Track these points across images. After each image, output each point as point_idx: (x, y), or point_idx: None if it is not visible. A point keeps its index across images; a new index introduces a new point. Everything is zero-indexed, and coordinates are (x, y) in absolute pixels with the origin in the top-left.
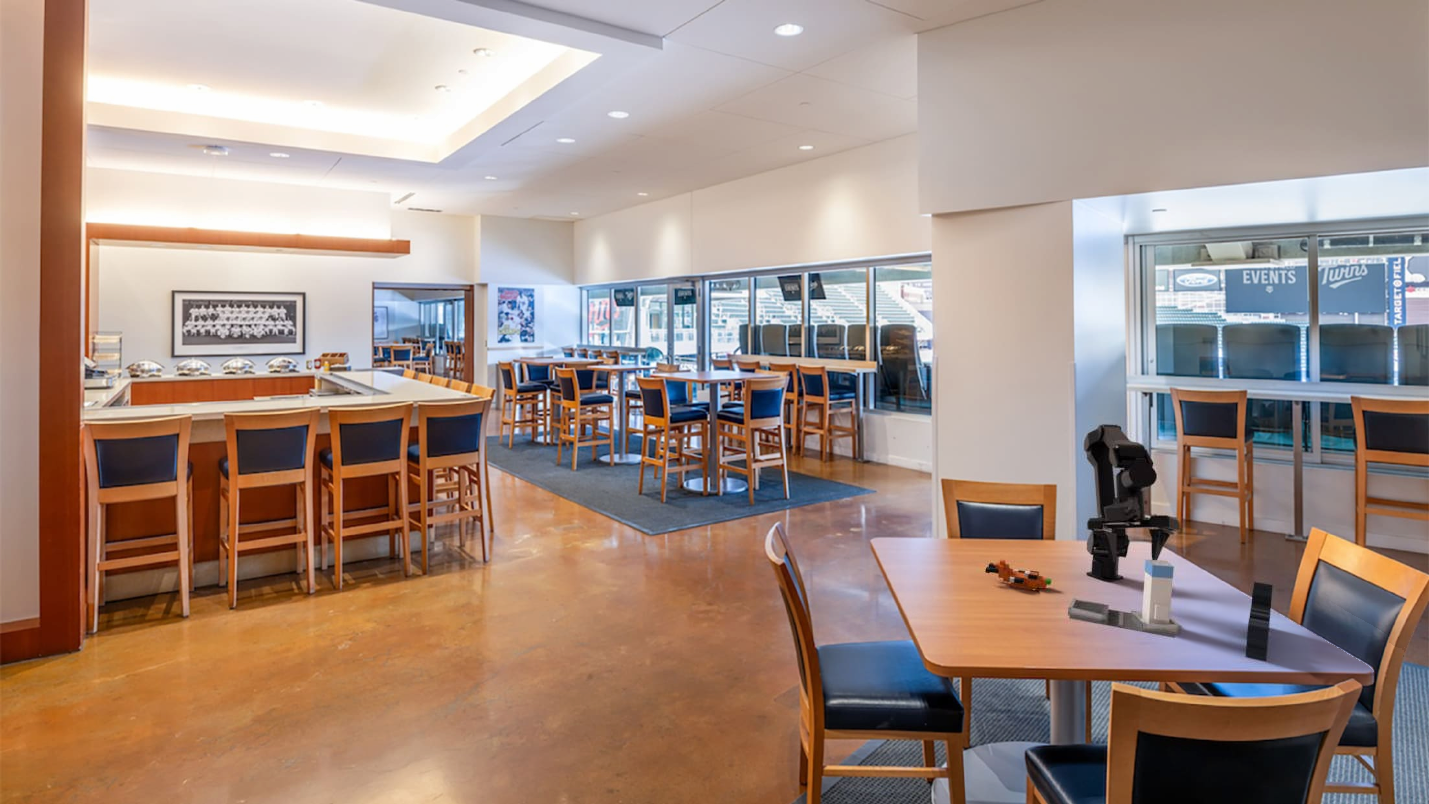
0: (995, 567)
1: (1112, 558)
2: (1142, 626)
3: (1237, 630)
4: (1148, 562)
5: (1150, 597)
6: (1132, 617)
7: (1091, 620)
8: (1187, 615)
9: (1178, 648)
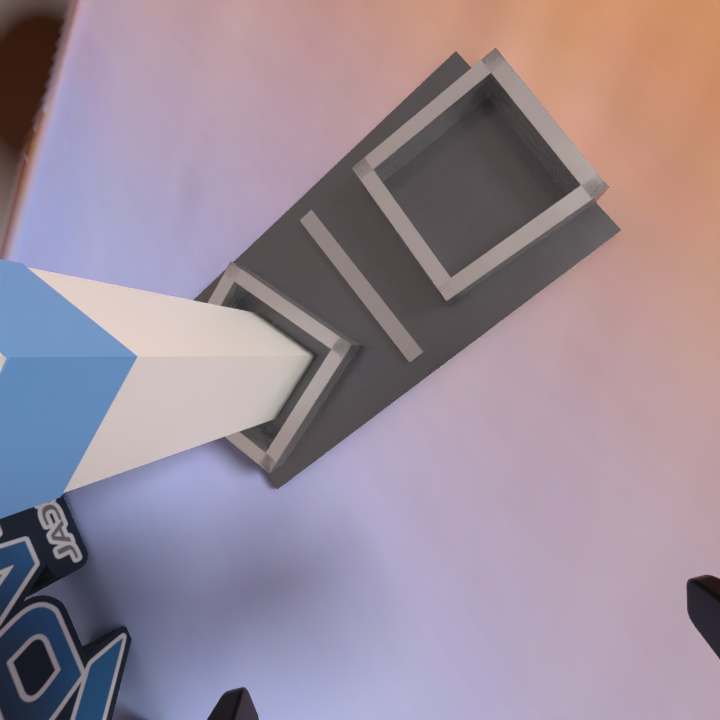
0: None
1: (718, 595)
2: (244, 268)
3: (158, 632)
4: None
5: (160, 294)
6: (340, 333)
7: None
8: (314, 628)
9: (128, 273)
